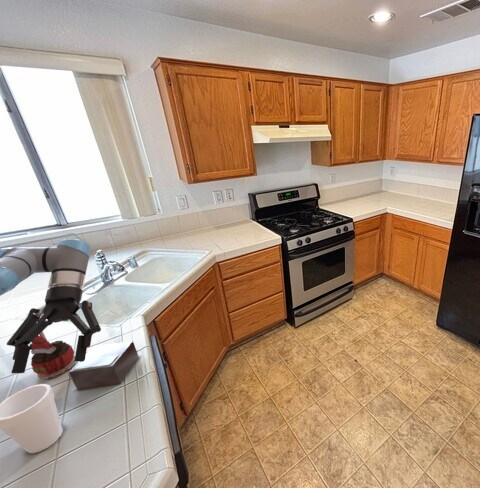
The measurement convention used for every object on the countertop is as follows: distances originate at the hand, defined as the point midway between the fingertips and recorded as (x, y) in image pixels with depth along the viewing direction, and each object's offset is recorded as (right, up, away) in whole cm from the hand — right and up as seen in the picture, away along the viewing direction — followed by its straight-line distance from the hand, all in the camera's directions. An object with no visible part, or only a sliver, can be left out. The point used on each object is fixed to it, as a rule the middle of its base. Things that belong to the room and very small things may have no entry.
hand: (49, 367), depth 68 cm
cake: (-17, -10, +19) cm, 27 cm away
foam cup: (+3, -16, -3) cm, 17 cm away
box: (+3, -9, +16) cm, 19 cm away
